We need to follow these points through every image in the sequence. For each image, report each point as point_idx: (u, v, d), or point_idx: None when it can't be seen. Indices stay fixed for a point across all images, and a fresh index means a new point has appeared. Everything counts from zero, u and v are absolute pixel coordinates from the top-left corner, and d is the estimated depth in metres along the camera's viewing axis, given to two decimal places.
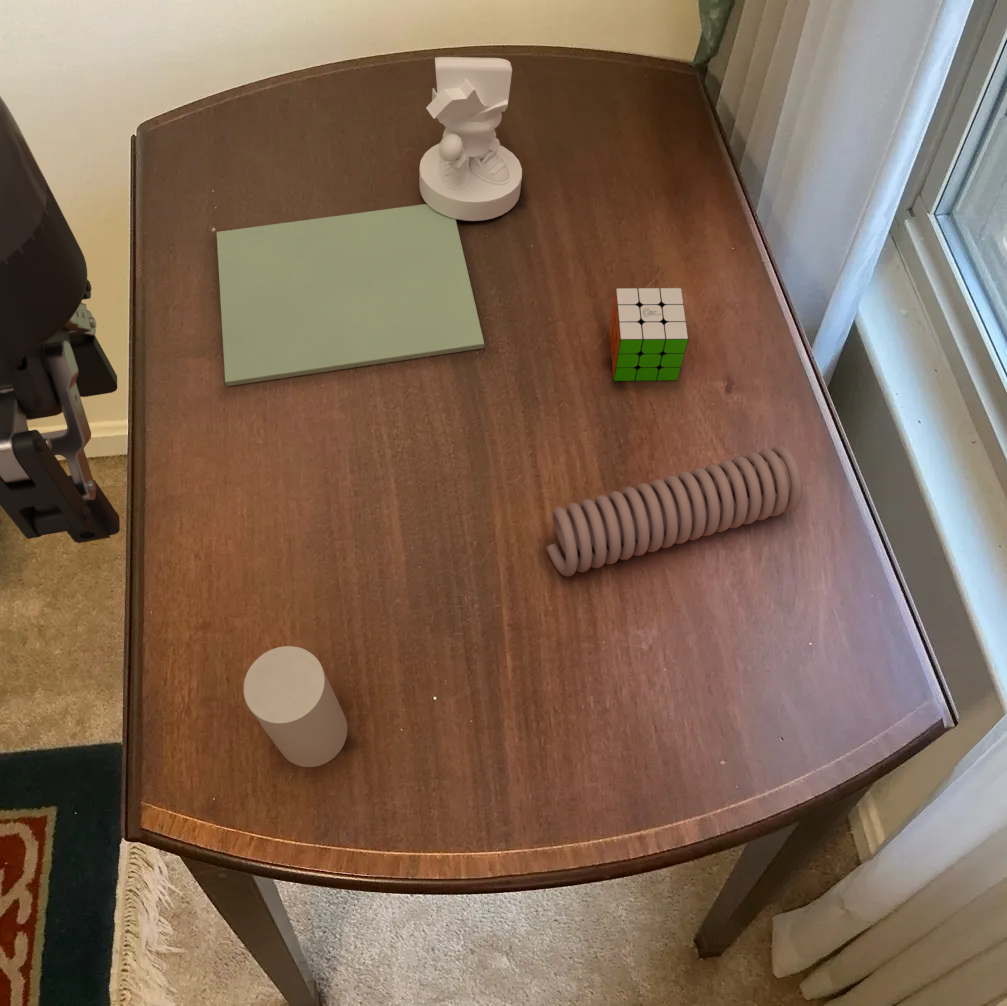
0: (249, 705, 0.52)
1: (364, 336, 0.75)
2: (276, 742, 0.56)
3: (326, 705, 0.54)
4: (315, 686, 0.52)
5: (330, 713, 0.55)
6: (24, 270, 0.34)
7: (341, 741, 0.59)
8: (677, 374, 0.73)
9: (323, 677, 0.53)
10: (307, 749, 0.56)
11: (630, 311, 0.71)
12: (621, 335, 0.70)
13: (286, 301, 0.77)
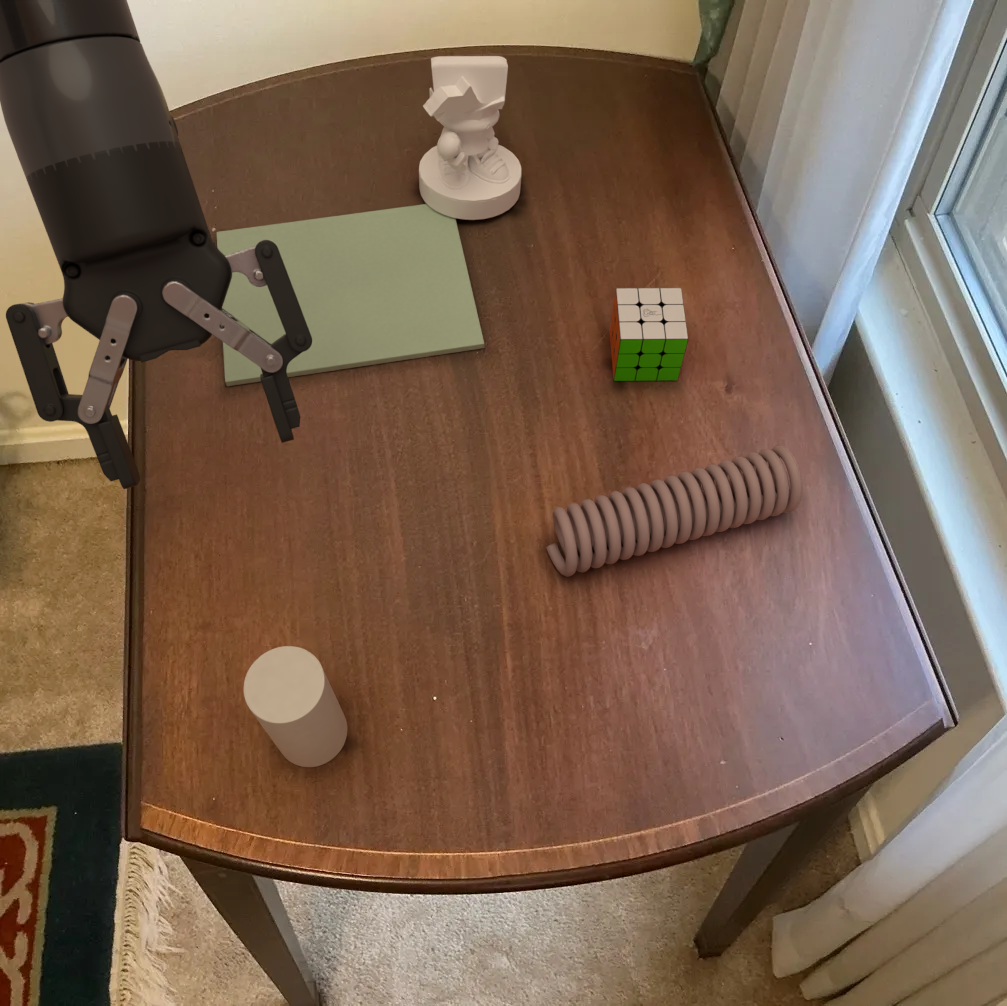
0: (249, 705, 0.52)
1: (364, 336, 0.75)
2: (276, 742, 0.56)
3: (326, 705, 0.54)
4: (315, 686, 0.52)
5: (330, 713, 0.55)
6: None
7: (341, 741, 0.59)
8: (677, 374, 0.73)
9: (323, 677, 0.53)
10: (307, 749, 0.56)
11: (630, 311, 0.71)
12: (621, 335, 0.70)
13: None
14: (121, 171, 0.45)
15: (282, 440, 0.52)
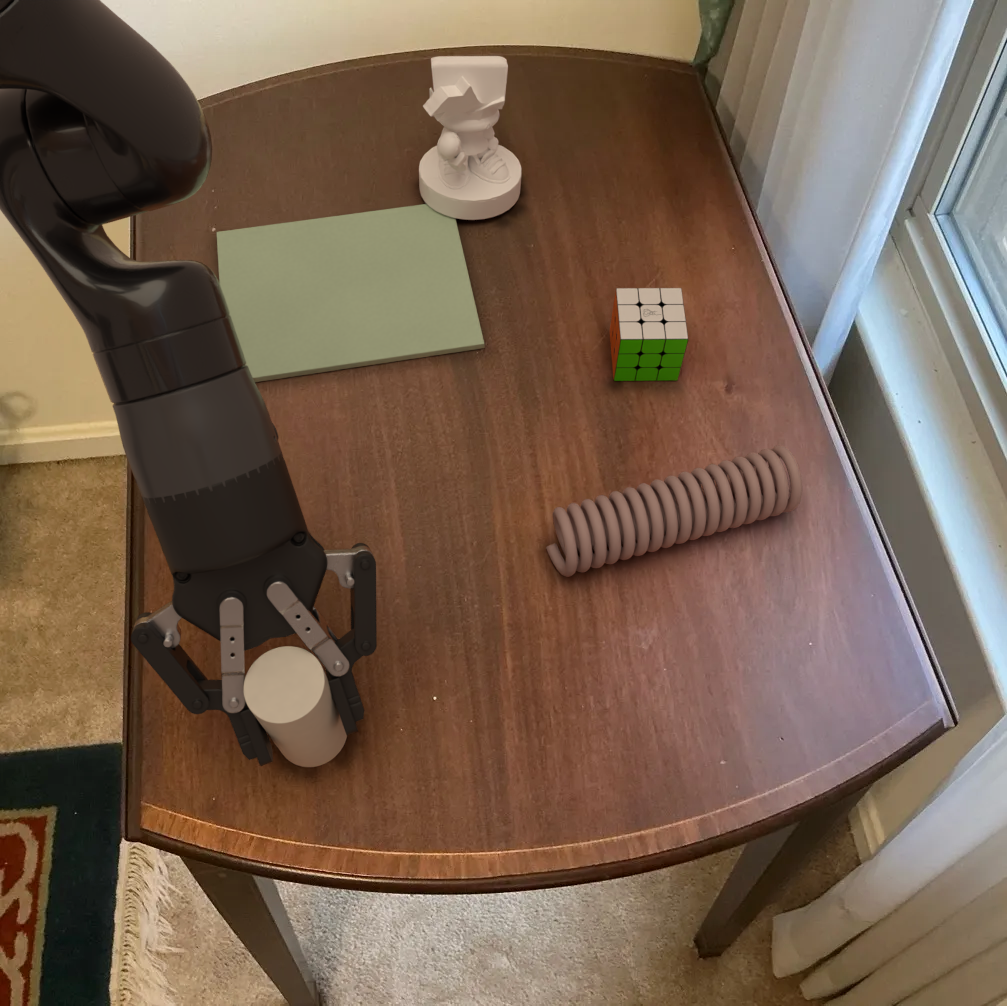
0: (249, 705, 0.52)
1: (364, 336, 0.75)
2: (276, 742, 0.56)
3: (326, 705, 0.54)
4: (315, 686, 0.52)
5: (330, 713, 0.55)
6: None
7: (341, 741, 0.59)
8: (677, 374, 0.73)
9: (323, 677, 0.53)
10: (307, 749, 0.56)
11: (630, 311, 0.71)
12: (621, 335, 0.70)
13: (286, 301, 0.77)
14: (235, 498, 0.48)
15: (347, 734, 0.55)
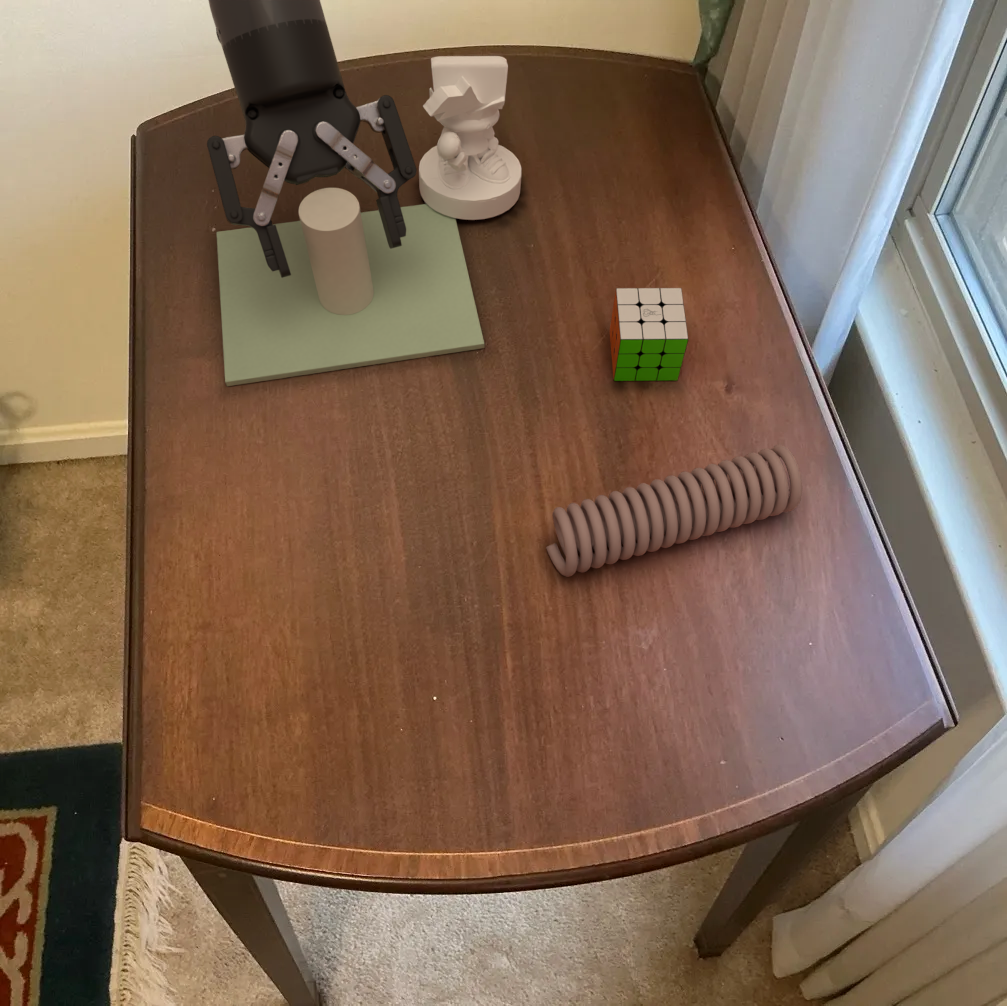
0: (303, 220, 0.69)
1: (364, 336, 0.75)
2: (321, 274, 0.73)
3: (360, 233, 0.71)
4: (352, 210, 0.69)
5: (362, 247, 0.72)
6: None
7: (369, 294, 0.76)
8: (677, 374, 0.73)
9: (358, 205, 0.70)
10: (344, 281, 0.73)
11: (630, 311, 0.71)
12: (621, 335, 0.70)
13: (286, 301, 0.77)
14: (295, 37, 0.65)
15: (393, 245, 0.72)
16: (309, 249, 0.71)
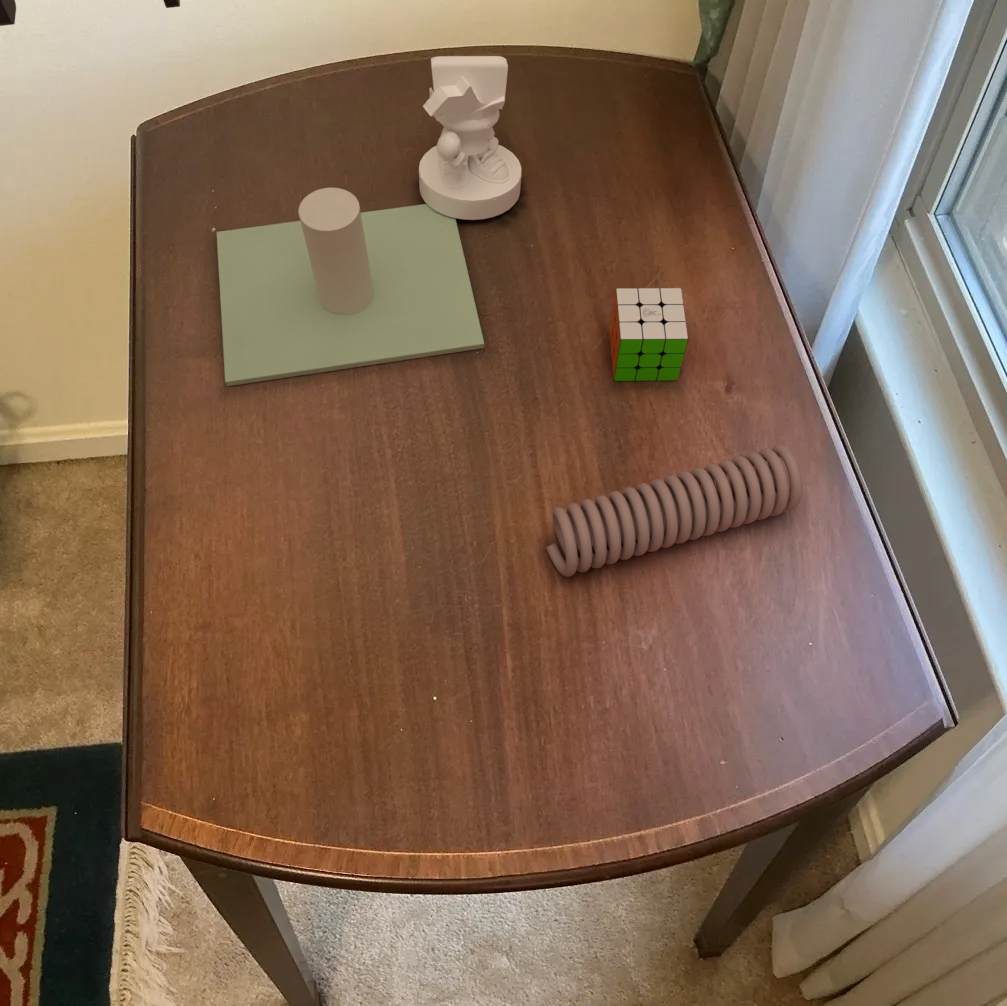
0: (303, 220, 0.69)
1: (364, 336, 0.75)
2: (321, 274, 0.73)
3: (360, 233, 0.71)
4: (352, 210, 0.69)
5: (362, 247, 0.72)
6: None
7: (369, 294, 0.76)
8: (677, 374, 0.73)
9: (358, 205, 0.70)
10: (344, 281, 0.73)
11: (630, 311, 0.71)
12: (621, 335, 0.70)
13: (286, 301, 0.77)
14: None
15: (167, 7, 0.51)
16: (309, 249, 0.71)
